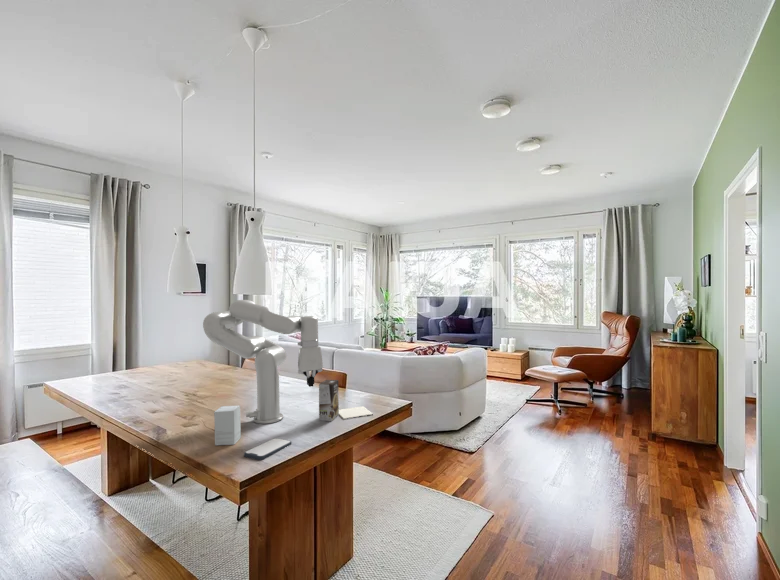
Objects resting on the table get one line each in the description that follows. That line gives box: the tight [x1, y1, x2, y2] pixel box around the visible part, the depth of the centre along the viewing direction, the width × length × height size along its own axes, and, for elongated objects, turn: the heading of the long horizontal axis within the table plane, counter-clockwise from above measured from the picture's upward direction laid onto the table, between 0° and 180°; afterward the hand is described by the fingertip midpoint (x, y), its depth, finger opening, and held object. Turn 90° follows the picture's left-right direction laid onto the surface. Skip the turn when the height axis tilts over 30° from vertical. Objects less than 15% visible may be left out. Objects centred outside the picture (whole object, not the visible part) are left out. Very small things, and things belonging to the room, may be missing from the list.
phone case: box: [243, 437, 292, 461], centre depth 135 cm, size 9×2×16 cm
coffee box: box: [318, 379, 340, 422], centre depth 170 cm, size 9×6×16 cm
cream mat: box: [338, 405, 374, 420], centre depth 176 cm, size 14×13×1 cm
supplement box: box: [213, 405, 242, 446], centre depth 143 cm, size 7×7×13 cm
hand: (310, 385), depth 166 cm, fingers closed
